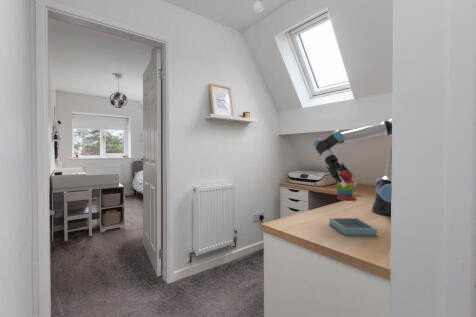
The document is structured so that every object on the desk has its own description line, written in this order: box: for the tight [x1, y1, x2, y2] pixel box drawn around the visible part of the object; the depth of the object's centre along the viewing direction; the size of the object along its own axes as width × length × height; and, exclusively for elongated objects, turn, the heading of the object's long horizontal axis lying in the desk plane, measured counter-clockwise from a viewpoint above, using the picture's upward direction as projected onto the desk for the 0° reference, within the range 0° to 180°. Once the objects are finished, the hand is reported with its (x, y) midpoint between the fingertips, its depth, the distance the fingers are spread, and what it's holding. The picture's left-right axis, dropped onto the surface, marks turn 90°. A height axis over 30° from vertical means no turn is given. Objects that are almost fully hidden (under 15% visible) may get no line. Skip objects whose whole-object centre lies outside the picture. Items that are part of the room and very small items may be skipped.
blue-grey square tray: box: [328, 217, 378, 237], centre depth 121 cm, size 16×17×4 cm
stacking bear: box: [336, 170, 357, 202], centre depth 141 cm, size 11×10×18 cm
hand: (350, 185), depth 138 cm, fingers closed on stacking bear, 8 cm apart
